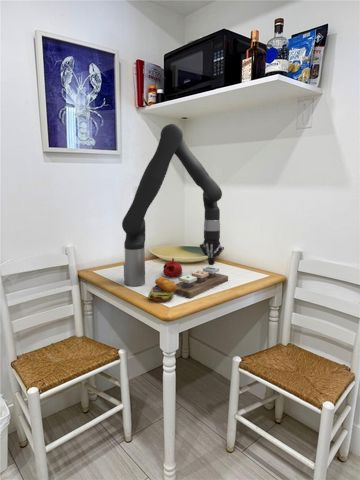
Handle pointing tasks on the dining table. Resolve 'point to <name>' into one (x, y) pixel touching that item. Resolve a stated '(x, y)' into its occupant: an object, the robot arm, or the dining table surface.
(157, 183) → the robot arm
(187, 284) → the key one
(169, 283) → the cheeseburger
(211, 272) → the key three
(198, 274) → the key two
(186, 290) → the key board
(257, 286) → the dining table surface
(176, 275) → the pomegranate
